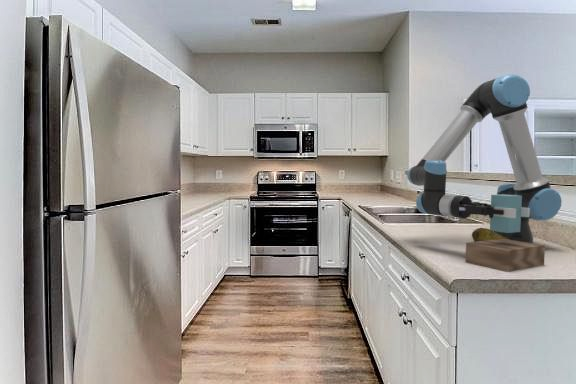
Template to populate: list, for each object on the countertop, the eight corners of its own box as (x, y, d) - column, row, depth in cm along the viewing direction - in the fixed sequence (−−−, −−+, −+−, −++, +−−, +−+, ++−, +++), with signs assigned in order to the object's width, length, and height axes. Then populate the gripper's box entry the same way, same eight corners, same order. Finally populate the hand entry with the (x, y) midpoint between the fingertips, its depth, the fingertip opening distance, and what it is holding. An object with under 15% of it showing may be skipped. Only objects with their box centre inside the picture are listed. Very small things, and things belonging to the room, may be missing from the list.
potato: (508, 255, 146) (509, 231, 146) (469, 250, 154) (469, 228, 154) (514, 251, 153) (514, 229, 152) (475, 247, 161) (476, 225, 160)
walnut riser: (501, 256, 144) (502, 238, 143) (544, 264, 131) (544, 245, 131) (465, 262, 135) (466, 242, 134) (507, 271, 122) (508, 250, 122)
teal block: (501, 229, 136) (503, 194, 136) (520, 231, 131) (521, 195, 131) (489, 230, 133) (491, 194, 133) (508, 233, 128) (509, 196, 128)
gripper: (474, 216, 153) (539, 224, 133) (436, 218, 143) (501, 227, 123) (475, 195, 152) (541, 199, 132) (437, 195, 143) (502, 201, 123)
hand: (522, 213), depth 128 cm, fingers closed on teal block, 6 cm apart
